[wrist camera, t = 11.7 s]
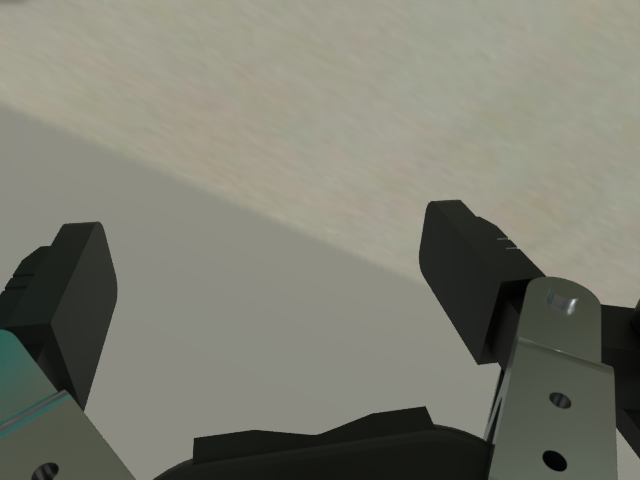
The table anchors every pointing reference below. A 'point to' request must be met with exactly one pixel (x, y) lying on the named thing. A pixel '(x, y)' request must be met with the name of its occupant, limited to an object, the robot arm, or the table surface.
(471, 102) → the table surface
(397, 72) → the table surface
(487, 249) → the robot arm
